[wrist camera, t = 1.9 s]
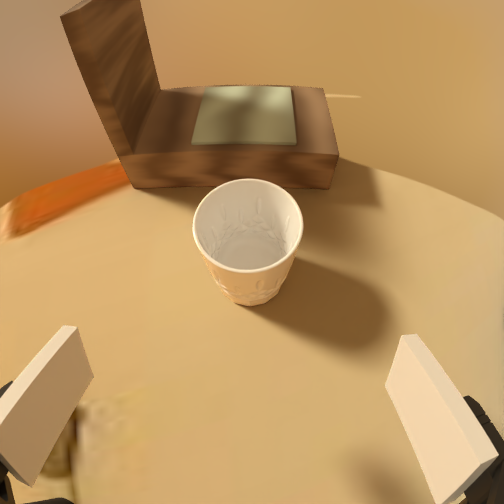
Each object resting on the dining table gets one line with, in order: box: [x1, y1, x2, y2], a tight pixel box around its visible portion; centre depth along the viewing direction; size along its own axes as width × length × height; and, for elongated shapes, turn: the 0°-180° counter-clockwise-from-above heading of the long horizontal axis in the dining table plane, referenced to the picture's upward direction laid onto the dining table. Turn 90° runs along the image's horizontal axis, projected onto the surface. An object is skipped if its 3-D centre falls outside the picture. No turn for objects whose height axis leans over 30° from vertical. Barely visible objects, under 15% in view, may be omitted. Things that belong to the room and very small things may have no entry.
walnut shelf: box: [60, 0, 339, 189], centre depth 27 cm, size 24×13×24 cm, turn 88°
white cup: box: [193, 179, 303, 306], centre depth 26 cm, size 8×8×10 cm
